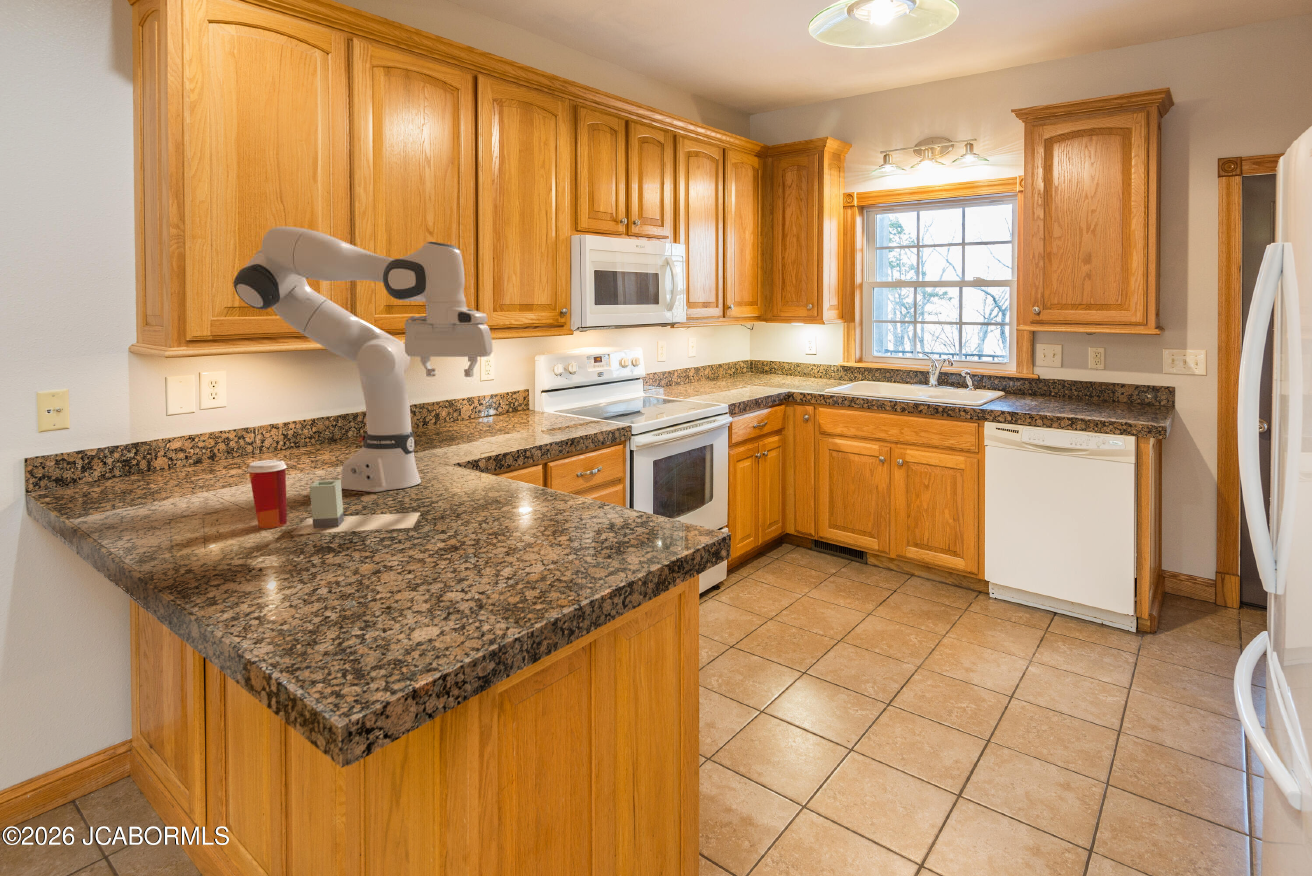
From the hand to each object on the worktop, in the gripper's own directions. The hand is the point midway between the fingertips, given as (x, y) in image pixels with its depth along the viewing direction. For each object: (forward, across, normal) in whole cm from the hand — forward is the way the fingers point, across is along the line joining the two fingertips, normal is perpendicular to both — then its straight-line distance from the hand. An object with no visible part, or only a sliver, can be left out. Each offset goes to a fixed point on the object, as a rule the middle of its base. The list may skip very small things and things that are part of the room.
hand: (449, 376), depth 174 cm
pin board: (+31, -13, -20) cm, 39 cm away
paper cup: (+31, -34, -20) cm, 50 cm away
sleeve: (+30, -19, -22) cm, 41 cm away
